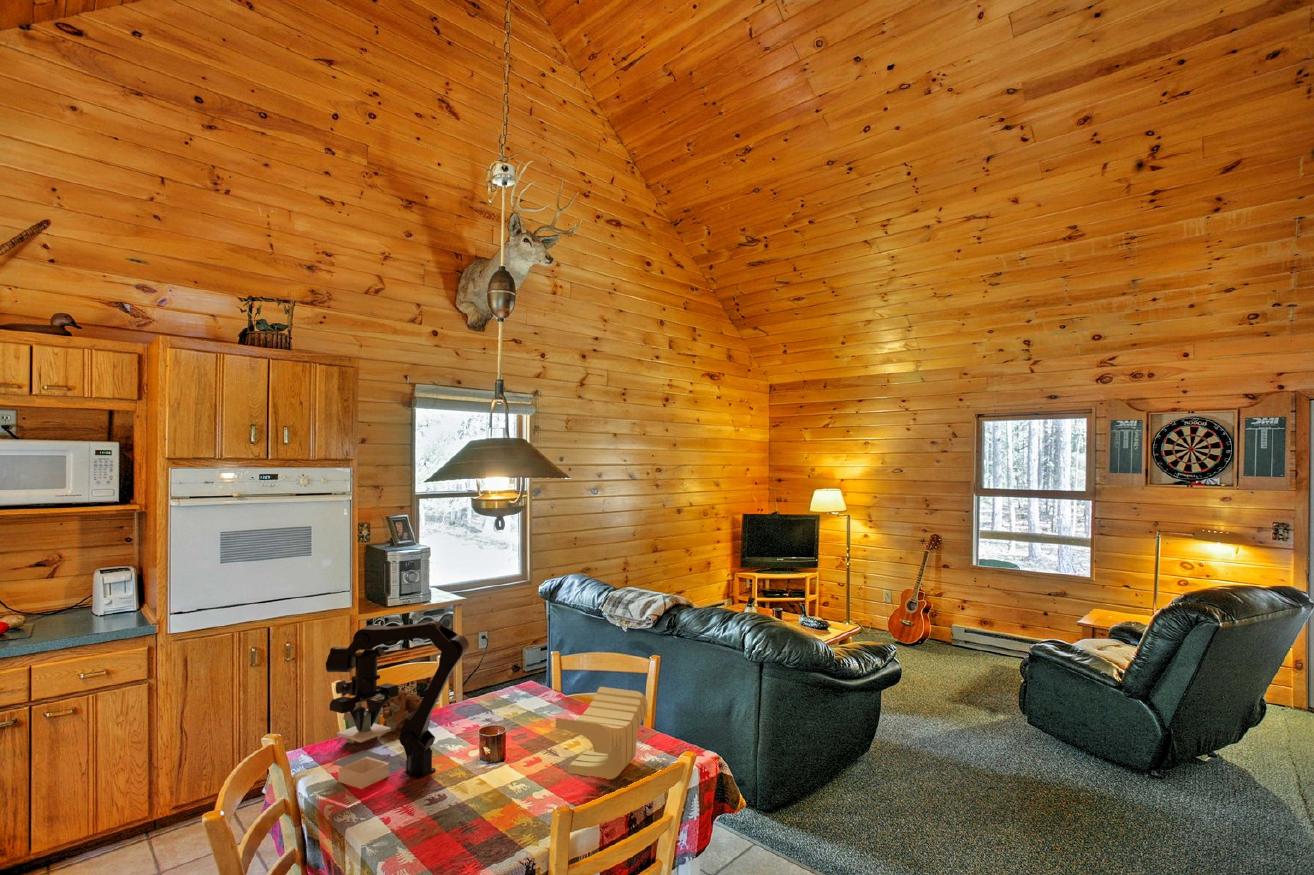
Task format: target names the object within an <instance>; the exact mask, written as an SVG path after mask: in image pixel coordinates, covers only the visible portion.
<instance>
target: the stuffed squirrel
mask: <svg viewBox="0 0 1314 875" xmlns="http://www.w3.org/2000/svg"><path fill="white" fill-rule="evenodd" d="M422 699H423V698H420V695H416V694H411V691H405V690H403V689H399V695H398V696H395V697H392V698H391V697H389V699H387V702H385V703H384V705H386V706H385V707H388V704H389V705H390V707H389V708H387V709H386V710H383V713H382V719H384V721H383V723H382V725H383V726H386V727H390V728H391V731H390V732H392V733H395V734H398V735H400V733H401V732H398V731H399V730H400V729H401V728H402V726H403V723H404V720H405V718H406V717H407V716H408V715H409V714H410V713H411V712H412V711H413V712H415V713H416V711H417V709H418V707H419V705H420V703H421V701H422Z"/></svg>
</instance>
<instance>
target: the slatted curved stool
mask: <svg viewBox="0 0 1314 875" xmlns="http://www.w3.org/2000/svg"><path fill="white" fill-rule="evenodd" d="M596 692H597V693H596V694H595V695H594V697H593V701H591V702H590V704H589V707H587V709H585V711H584V712H583V713H582V714H581V715H580V716H579V717H577V718H576V719H567V718H560V717H555V726H554V727H555V729H558V730H562V731H563V730H564V731H567V732H572V733H575V734H578V735H581V736H583V737H584V738H586V739H587V740H588V741H589V742H590V743H591V745H592V748H593V750H588V749H586V750H584V751H583V752H582V753H581V754H580V755H579V756H577V758H575V759H574V760H572V762H571V763H569V766H568V770H567V773H569V774H573V775H574V774H575V775H581V776H584V777H585V776H586V777H591V776H595V777H594V778H597V777H602V778H601V779H603V778H606V779H605V780H614V779H616V778H617V777H618V776H619V775H620V774H621V773H622V772H623V771H624V770H625V769H626V767H627V766H629V764H631V762H632V761H633V760H634V759H635V757H636V753H637V741H638V733H639V732H638V729H639V728H640V726H641V723H642V721H644V720H645V719H646V718H648V700H647V698H646V696H645V695H644V694H643V693H642V692H640V691H639V690H638V691H637V690H630V689H622V688H621V689H620V688H614V687H613V688H612V687H608V686H607V687H606V686H599V687H598V689H597V691H596ZM596 776H597V777H596Z"/></svg>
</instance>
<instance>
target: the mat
mask: <svg viewBox="0 0 1314 875" xmlns="http://www.w3.org/2000/svg"><path fill="white" fill-rule="evenodd" d="M365 757H370V758H373V759H377V760H380V761H384V760H387V759H389V758H390V756H387V755H383V754H380V753H377V752H374V751H370V750H366V749H362V750H360V751H357V752H355V753H352V754H350V755H347V756H345V757H343V758H340V759H337V760H335V761H333V762H331V764H333V765H336V766H340V767H343V766H346V765H348V764H351V763H353V762H355V761H358V760H360V759H362V758H365Z"/></svg>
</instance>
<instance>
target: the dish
mask: <svg viewBox="0 0 1314 875" xmlns="http://www.w3.org/2000/svg"><path fill="white" fill-rule="evenodd" d="M388 777H390V762H386V761H384V760H382V761H380V760H377V759H373V758H370V757H365V758H362V759H360V760H358V761H355V762H353V763H351V764H348V765H346V766H343V767H342V766H340V767H339V768H338V781H337V782H338V783H342V784H345V785H347V786H350V787H353V788H356V789H359V790H363V789H365V788H367V787H369V786H371V785H373V784H375V783H378V782H379V781H382V780H384V779H386V778H388Z"/></svg>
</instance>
